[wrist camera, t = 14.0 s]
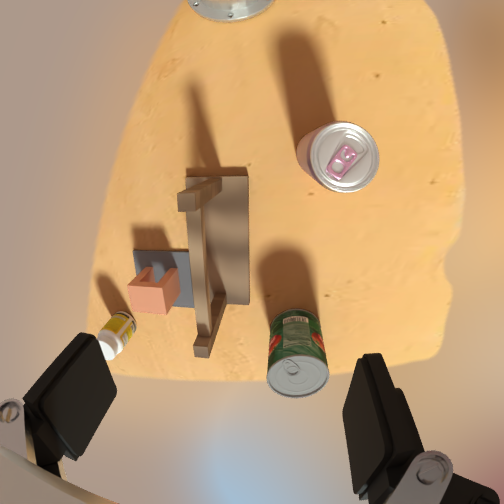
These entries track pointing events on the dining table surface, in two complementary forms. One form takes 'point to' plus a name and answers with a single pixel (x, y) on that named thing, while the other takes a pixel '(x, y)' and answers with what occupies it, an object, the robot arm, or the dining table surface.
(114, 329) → the supplement bottle
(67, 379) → the robot arm
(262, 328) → the dining table surface
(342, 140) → the beverage can
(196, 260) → the stand
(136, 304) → the c link
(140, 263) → the mat
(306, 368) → the canned tomato
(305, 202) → the dining table surface
